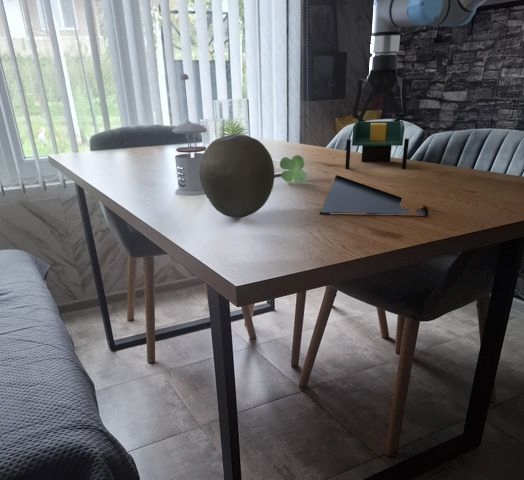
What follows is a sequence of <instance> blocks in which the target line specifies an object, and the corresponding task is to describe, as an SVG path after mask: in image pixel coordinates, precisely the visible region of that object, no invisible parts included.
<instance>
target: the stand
mask: <svg viewBox="0 0 524 480" xmlns="http://www.w3.org/2000/svg"><path fill="white" fill-rule="evenodd" d="M409 143H410V138H407V137H406V138H404V140H403V153H402V159H401V160H402V161H401V170H406V169H407V162H408V152H409ZM351 146H352V138H347V139H346V146H345V148H346V149H345V165H344V166H345V167H344V169H345V170H349V169H350V165H351V164H350V163H351V149H352V147H351ZM392 148H393V146H361V163H390V162H391V156H392Z"/></svg>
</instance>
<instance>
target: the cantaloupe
mask: <svg viewBox="0 0 524 480" xmlns="http://www.w3.org/2000/svg"><path fill="white" fill-rule="evenodd" d="M203 153H204V154H203V156H202V159H201V162H200V166H199V177H200V182H201V185H202V188H203V190H204V192H205V194H204V195H205V196H206V198H207V199H208V201H209V203H210V204H211V205H212V207H213V208H214V209H215V210H216V211H217V212H218V213H220V214H222V215H223V216H226V217H228V218H233V219H242V218H245V217H248V216H250V215H251V216H252V215H253V214H254V213H255V214H256V213H257V212H258V211H259V210H260V209H262V208H263V207H264V205H266V203H267V202H268V200H269V198H270V196H271V194H272V190H273V188H274V182H275V166H274V161H273V158H272V156H271V153H270V152H269V150H268V149H267V147H266V146H265V145H264V144H263V143H262V142H261V140H259V139H256V138H255V137H252V136H249V135H247V134H242V133H241V134H240V133H239V134H238V133H235V134H229V135H226V136H222V137H218V138H217V139H214V140H213V141H211V142H210V143H209V145H208V146H207V147H206V150H204V151H203Z"/></svg>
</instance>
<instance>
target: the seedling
mask: <svg viewBox="0 0 524 480" xmlns="http://www.w3.org/2000/svg"><path fill="white" fill-rule="evenodd" d="M279 167H280V169H282V170H283V171H282V172H281V174H280V175H281V179H282V180H284V181H285V182H287V183H291V182H292V181H294V182H295V183H301V182H303V181H305V180H306V179H307V175H308V174H307V173H306V171H305V170H303V168H304V167H305V160H304V158H303V157H302V156H301V155H299V154H295V155H293V156H292V158H289V157H287V156H284V157H282V158H281V159H280V160H279Z"/></svg>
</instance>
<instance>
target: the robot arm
mask: <svg viewBox="0 0 524 480" xmlns="http://www.w3.org/2000/svg"><path fill="white" fill-rule="evenodd" d="M486 1H487V0H373V4H372V8H373V10H372V11H373V12H372V26H371V27H372V29H371V40H370V43H371V44H370V54H372V55H371V56H370V58H369V70H368V72H369V73H368V75H367V76H366V77H367V78H362V79H358V80H357V93H356V97H355V101H354V106H353V111H352V115H351V116H352V118H353V119H355V120H357V122H366V119H364V116H365V115H366V112H367V110H368V108H369V106H370V104H371V102H372V99H373V98H374V95H375V94H388V98H389V101H390V104H391V107H392V110H393V113H394V116H395V119H392V121H402V119H404V118H406V117H407V116H408V108H407V107H408V106H407V89H406V87H407V84H408V78H407V77H399V75H398V74H397V73H398V63H399V56H398V55H397V53H399V51H400V42H401V30H402V29H401V28H403V27H404V28H405V27H413V26H414V27H415V26H418V27H419V26H421V27H450V28H456V27H461V26H465V25H467V24H469V23H470V21H472V19H473V17H474V16H475V14H476V11H477V8H479V7H480V6H481V5H483V4H484V3H485V2H486ZM397 82H398V86H399V87H400V96H401V97H400V99H401V113H400V112H399V108H398V105H397V102H396V98H395V95H394V92H393V88H394V86H395V85H396V84H397ZM366 84H368V86H369V87H370V89H371V90H370V92H369V94H368V97H367V98H366V100H365V103H364V105H363V107H362V110H361V111H360V114H359V113H358V112H359V108H360V104H361V99H362V94H363V89H364V88H365V87H366Z"/></svg>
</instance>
